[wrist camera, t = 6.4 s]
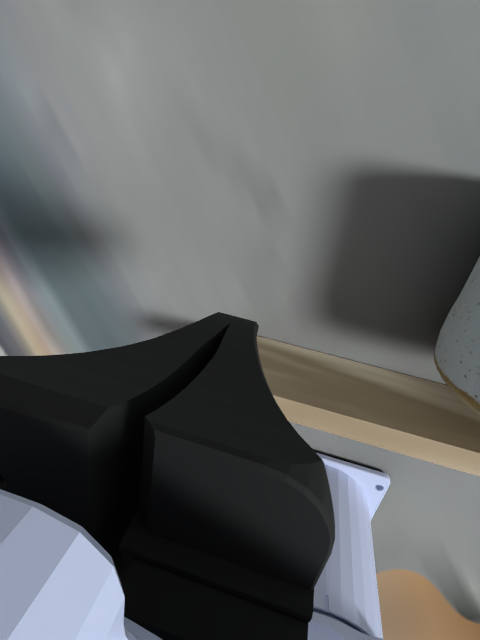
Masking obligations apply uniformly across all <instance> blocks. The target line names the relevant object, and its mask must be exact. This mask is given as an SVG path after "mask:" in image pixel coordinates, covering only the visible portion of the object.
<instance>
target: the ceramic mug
mask: <svg viewBox="0 0 480 640" xmlns="http://www.w3.org/2000/svg"><path fill="white" fill-rule="evenodd" d="M434 361H435V364H436V367H437V370H438V371H439V373H440V375H441V377H442V378H443V380H444V381H445V383H446V384H447V385H448V387H449V388H450V389H451V390H452V392H453V393H454V394H455V395H457V396H458V397H459V398H460V399H461V400H462V401H463V402H464V403H465V404H466V405H467V406H468V407H470V408H471V409H472V410H474V411H475V412H476V413H478V414H479V415H480V257H479V259H478V260H477V262H476V264H475V266H474V268H473V270H472V272H471V274H470V276H469V278H468V280H467V282H466V284H465V285H464V287H463V289H462V291H461V293H460V295H459V297H458V298H457V300H456V302H455V303H454V305H453V306H452V308H451V310H450V311H449V313H448V316H447V318H446V320H445V322H444V324H443V326H442V328H441V330H440V333H439V337H438V340H437V344H436V347H435V353H434Z"/></svg>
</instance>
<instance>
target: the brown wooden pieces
mask: <svg viewBox="0 0 480 640" xmlns="http://www.w3.org/2000/svg"><path fill="white" fill-rule="evenodd" d="M257 347H258V353H259V358H260V362H261V366H262V369H263V373H264V375H265V378H266V381H267V383H268V386H269V388H270V390H271V392H272V394H273V396H274V398H275V400H276V402H277V404H278V406H279V407H280V409H281V411H282V412H283V414H284V415H285V417H286V418H287V420H288V421H290V422H294V423H297V424H301V425H304V426H307V427H311V428H314V429H318V430H321V431H325V432H328V433H332V434H335V435H339V436H342V437H345V438H349V439H352V440H356V441H359V442H363V443H366V444H370V445H373V446H376V447H380V448H383V449H387V450H390V451H394V452H397V453H401V454H404V455H408V456H411V457H414V458H418V459H421V460H425V461H428V462H432V463H435V464H439V465H442V466H446V467H449V468H452V469H456V470H459V471H463V472H466V473H470V474H473V475H477V476H480V415H479V414H478V413H476V412H475V411H474V410H472V409H471V408H470V407H468V406H467V405H466V404H465V403H464V402H463V401H462V400H461V399H460V398H459V397H458V396H457V395H455V394H454V393H453V392H452V390H451V389H450V388H449V387H448V385H444V384H440V383H436V382H432V381H428V380H425V379H421V378H417V377H413V376H409V375H405V374H402V373H398V372H394V371H390V370H386V369H382V368H378V367H375V366H371V365H367V364H363V363H359V362H355V361H352V360H348V359H344V358H340V357H336V356H332V355H328V354H325V353H321V352H317V351H313V350H309V349H305V348H302V347H298V346H294V345H290V344H286V343H282V342H278V341H275V340H271V339H267V338H263V337H259V336H257Z"/></svg>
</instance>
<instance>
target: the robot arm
mask: <svg viewBox="0 0 480 640" xmlns="http://www.w3.org/2000/svg"><path fill="white" fill-rule="evenodd" d="M258 327H259V326H258V324H257V323H256V322H254V321H250V320H247V319H243V318H239V317H235V316H231V315H228V314H224V313H220V312H218V313H215V314H213V315H210V316H208V317H206V318H204V319H202V320H199V321H197V322H195V323H193V324H190V325H188V326H186V327H183V328H181V329H178V330H176V331H173V332H170V333H167V334H165V335H162V336H159V337H156V338H153V339H150V340H146V341H143V342H139V343H135V344H131V345H127V346H122V347H116V348H110V349H104V350H98V351H92V352H85V353H75V354H63V355H48V356H0V640H384V639H383V635H382V625H381V616H380V606H379V598H378V589H377V579H376V570H375V560H374V551H373V542H372V533H371V523H370V521H371V519H372V517H373V515H374V513H375V511H376V510H377V508H378V506H379V504H380V502H381V500H382V498H383V496H384V495H385V493H386V491H387V489H388V487H389V485H390V478H389V476H388V475H387V474H385V473H382V472H379V471H376V470H372V469H369V468H366V467H362V466H359V465H356V464H352V463H349V462H346V461H342V460H339V459H336V458H332V457H329V456H326V455H322V454H319V453H316V452H315V451H314V450H313V449H312V448H311V447H310V446H309V445H308V444H307V443H306V442H305V441H304V440H303V439H302V438H301V437H300V435H299V434H298V433H297V432H296V431H295V429H294V428H293V427H292V425H291V424H290V423H289V421H288V420H287V418H286V417H285V415H284V414H283V412H282V411H281V409H280V407H279V406H278V404H277V402H276V400H275V398H274V396H273V394H272V392H271V390H270V388H269V386H268V383H267V381H266V378H265V375H264V373H263V369H262V366H261V362H260V358H259V353H258V347H257V332H258ZM377 485H381V486H377Z"/></svg>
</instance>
